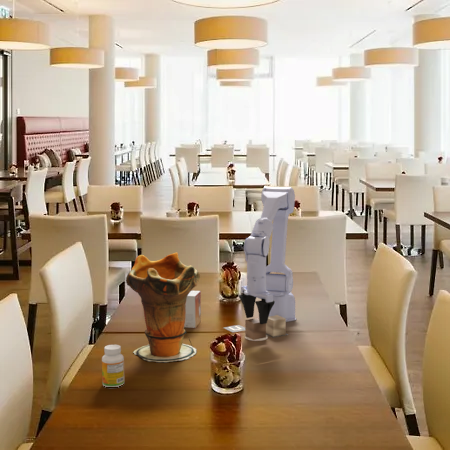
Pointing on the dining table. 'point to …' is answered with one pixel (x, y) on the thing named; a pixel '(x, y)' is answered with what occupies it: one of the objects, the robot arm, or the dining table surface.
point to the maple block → (276, 325)
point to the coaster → (257, 339)
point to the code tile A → (235, 328)
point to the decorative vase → (163, 305)
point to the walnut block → (255, 329)
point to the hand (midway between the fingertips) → (256, 320)
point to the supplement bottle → (112, 366)
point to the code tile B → (275, 336)
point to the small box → (193, 309)
